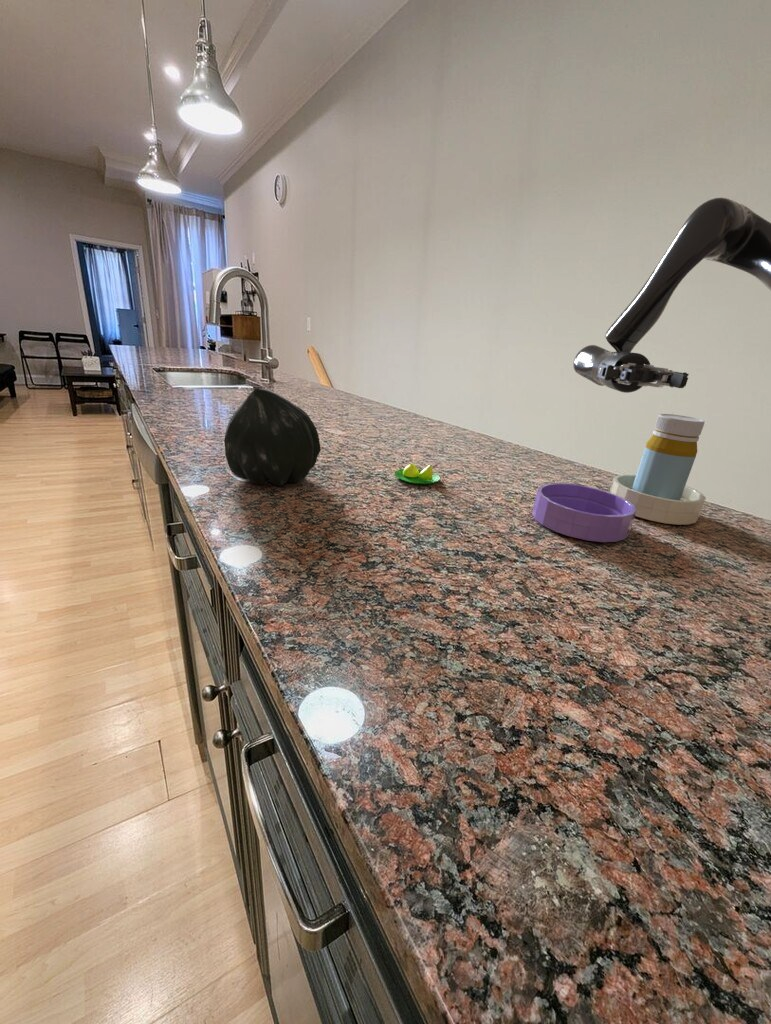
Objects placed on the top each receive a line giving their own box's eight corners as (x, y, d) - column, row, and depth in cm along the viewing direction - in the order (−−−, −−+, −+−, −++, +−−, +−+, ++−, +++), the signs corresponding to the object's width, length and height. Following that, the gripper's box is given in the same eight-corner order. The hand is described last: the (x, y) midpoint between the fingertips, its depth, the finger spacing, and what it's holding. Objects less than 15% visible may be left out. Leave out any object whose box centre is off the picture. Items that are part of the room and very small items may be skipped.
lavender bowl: (552, 500, 74) (558, 477, 72) (638, 527, 66) (646, 502, 65) (516, 520, 65) (522, 494, 63) (611, 553, 57) (620, 525, 55)
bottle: (682, 512, 73) (716, 421, 68) (662, 519, 69) (695, 423, 64) (640, 498, 78) (668, 412, 73) (619, 503, 75) (647, 413, 69)
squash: (333, 436, 79) (274, 366, 72) (339, 464, 66) (268, 381, 59) (272, 484, 81) (209, 420, 74) (266, 521, 68) (189, 447, 61)
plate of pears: (441, 476, 81) (443, 461, 80) (436, 489, 74) (438, 473, 73) (399, 469, 83) (400, 454, 82) (389, 482, 75) (391, 466, 74)
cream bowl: (619, 490, 83) (625, 470, 81) (702, 513, 75) (711, 490, 73) (596, 506, 73) (603, 483, 72) (688, 534, 65) (698, 509, 64)
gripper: (592, 348, 91) (622, 352, 76) (664, 355, 90) (709, 360, 75) (582, 386, 94) (609, 396, 79) (652, 393, 93) (693, 405, 78)
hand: (658, 379), depth 77 cm, fingers open, 8 cm apart
